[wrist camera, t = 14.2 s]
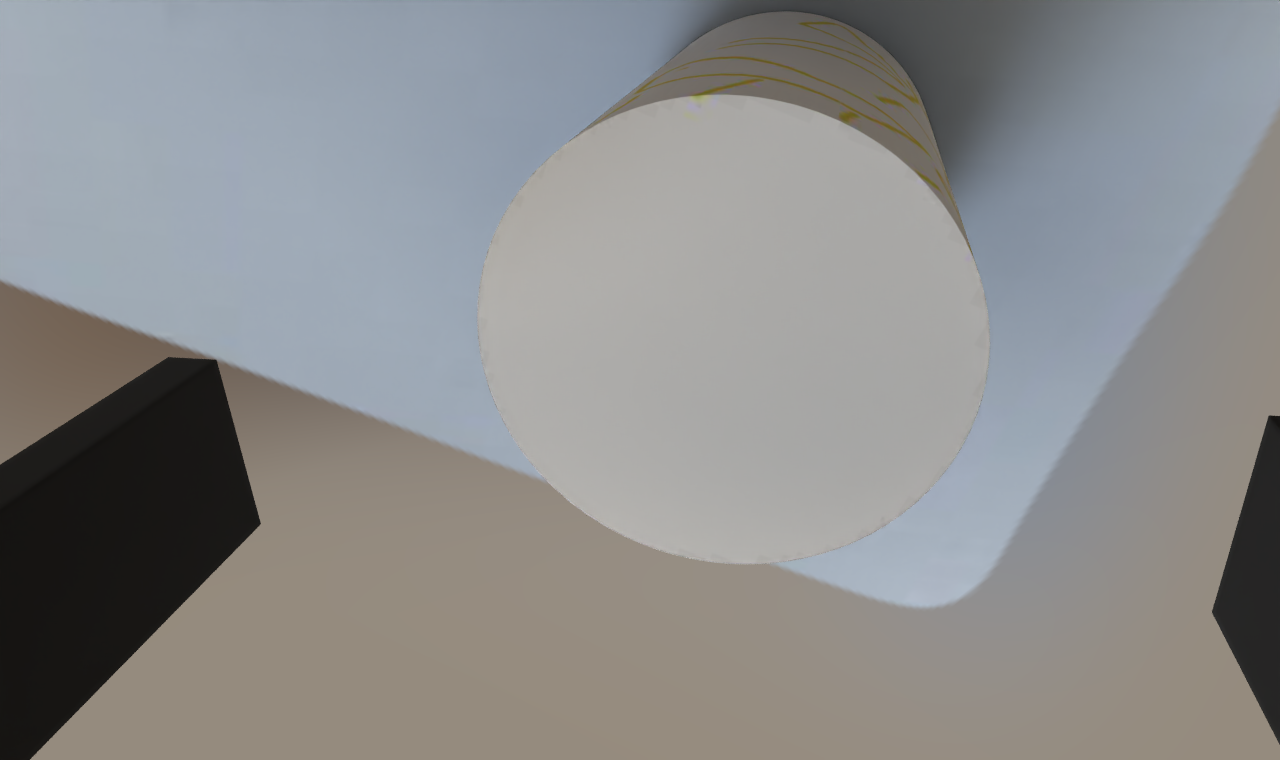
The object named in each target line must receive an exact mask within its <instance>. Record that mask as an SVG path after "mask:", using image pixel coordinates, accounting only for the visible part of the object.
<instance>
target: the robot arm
mask: <svg viewBox="0 0 1280 760" xmlns="http://www.w3.org/2000/svg"><path fill="white" fill-rule="evenodd" d="M260 524H261V523H260V519H259V516H258V512H257V508H256V505H255V501H254V497H253V494H252V490H251V486H250V482H249V479H248V475H247V471H246V468H245V464H244V460H243V456H242V453H241V450H240V445H239V442H238V438H237V435H236V431H235V427H234V423H233V419H232V416H231V412H230V408H229V405H228V401H227V397H226V393H225V390H224V386H223V382H222V379H221V375H220V371H219V368H218V364H217V360H210V359H191V358H172V357H168V358H166V359H165V360H163V361H162V362H160V363H159V364H157V365H155V366H154V367H152V368H151V369H149V370H148V371H146V372H144V373H143V374H141V375H140V376H138V377H137V378H135V379H134V380H132V381H130V382H129V383H127V384H126V385H124V386H123V387H121V388H119V389H118V390H116V391H115V392H113V393H112V394H110V395H109V396H107V397H105V398H104V399H102V400H101V401H99V402H98V403H96V404H95V405H93V406H91V407H90V408H88V409H87V410H85V411H84V412H82V413H80V414H79V415H77V416H76V417H74V418H73V419H71V420H69V421H68V422H66V423H65V424H64V425H62V426H60V427H59V428H57V429H55V430H54V431H52V432H51V433H49V434H48V435H46V436H44V437H43V438H41V439H40V440H38V441H37V442H35V443H34V444H32V445H30V446H29V447H27V448H26V449H24V450H23V451H21V452H19V453H18V454H17V455H15V456H13V457H12V458H10V459H9V460H7V461H5V462H4V463H2V464H1V465H0V760H30V759H31V758H32V757H33V756H34V755H35V754H36V753H37V751H39V750H40V749H41V748H42V746H43V745H45V744H46V742H47V741H48V740H49V739H50V738H51V737H52V736H53V735H54V734H55V733H56V732H57V731H58V730H59V729H60V728H61V727H62V726H63V725H64V724H65V723H66V722H67V721H68V720H69V719H70V718H71V717H72V716H73V715H74V714H75V713H76V712H77V711H78V710H79V709H80V708H81V707H82V706H83V705H84V704H85V703H86V702H87V701H88V700H89V699H90V698H91V696H93V695H94V693H95V692H96V691H98V689H99V688H100V687H101V686H102V685H103V684H104V683H105V682H106V681H107V680H108V679H109V678H110V677H111V676H112V675H113V674H114V673H115V672H116V671H117V670H118V669H119V668H120V667H121V666H122V665H123V664H124V663H125V662H126V661H127V660H128V659H129V658H130V657H131V656H132V655H133V654H134V653H135V652H136V651H137V650H138V649H139V648H140V647H141V646H142V645H143V644H144V643H145V642H146V641H147V639H149V637H150V636H151V635H152V634H153V633H154V632H155V631H156V630H157V629H158V628H159V627H160V626H161V625H162V624H163V623H164V622H165V621H166V620H167V619H168V618H169V617H170V616H171V615H172V614H173V613H174V612H175V611H176V610H177V609H178V608H179V607H180V606H181V605H182V604H183V603H184V602H185V601H186V600H187V599H188V598H189V597H190V596H191V595H192V594H193V593H194V592H195V591H196V590H197V589H198V588H199V587H200V585H201V584H202V583H203V582H204V581H205V580H206V579H207V578H208V577H209V576H210V575H211V574H212V573H213V572H214V571H215V570H216V569H217V568H218V567H219V566H220V565H221V564H222V563H223V562H224V561H225V560H226V559H227V558H228V557H229V556H230V555H231V554H232V553H233V552H234V551H235V550H236V549H237V548H238V547H239V546H240V545H241V544H242V543H243V542H244V541H245V540H246V539H247V538H248V537H249V536H250V535H251V534H252V533H253V531H254V530H255V529H256V528H257V527H258V526H259V525H260ZM1212 613H1213V615H1214V617H1215V619H1216V621H1217V623H1218V625H1219V627H1220V629H1221V631H1222V633H1223V635H1224V637H1225V639H1226V641H1227V643H1228V645H1229V646H1230V648H1231V650H1232V652H1233V654H1234V656H1235V658H1236V660H1237V662H1238V664H1239V666H1240V668H1241V670H1242V672H1243V674H1244V675H1245V678H1246V680H1247V682H1248V684H1249V686H1250V688H1251V689H1252V691H1253V693H1254V695H1255V697H1256V699H1257V701H1258V703H1259V705H1260V707H1261V709H1262V711H1263V713H1264V715H1265V717H1266V719H1267V721H1268V723H1269V725H1270V727H1271V729H1272V730H1273V732H1274V734H1275V736H1276V738H1277V740H1278V742H1279V744H1280V416H1269V417H1268V421H1267V424H1266V427H1265V431H1264V434H1263V437H1262V441H1261V444H1260V448H1259V451H1258V455H1257V458H1256V462H1255V465H1254V469H1253V472H1252V476H1251V479H1250V483H1249V486H1248V489H1247V493H1246V496H1245V500H1244V503H1243V507H1242V510H1241V514H1240V517H1239V521H1238V524H1237V528H1236V531H1235V535H1234V538H1233V541H1232V545H1231V548H1230V552H1229V555H1228V559H1227V562H1226V565H1225V569H1224V572H1223V576H1222V579H1221V583H1220V586H1219V590H1218V593H1217V597H1216V600H1215V603H1214V607H1213V610H1212Z"/></svg>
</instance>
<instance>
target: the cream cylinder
mask: <svg viewBox="0 0 1280 760" xmlns="http://www.w3.org/2000/svg"><path fill="white" fill-rule="evenodd" d="M477 324H478V339H479V347H480V354H481V359H482V363H483V368H484V372H485V376H486V379H487V382H488V386H489V389H490V392H491V394H492V397H493V399H494V402H495V405H496V407H497V409H498V411H499V413H500V415H501V417H502V420H503V422H504V423H505V425H506V427H507V429H508V430H509V432H510V434H511V436H512V437H513V439H514V440H515V442H516V443H517V445H518V446H519V448H520V449H521V451H522V452H523V453H524V455H525V456H526V457H527V459H528V460H529V461H530V463H531V464H532V465H533V466H534V467H535V468H536V470H537V471H538V472H539V473H540V474H541V475H542V476H543V478H545V479H546V480H547V481H548V482H549V483H550V484H551V485H552V486H553V487H554V488H555V489H556V490H557V491H558V492H559V493H560V494H561V495H562V496H564V497H565V498H566V499H567V500H568V501H569V502H571V503H572V504H574V505H575V506H576V507H577V508H579V509H580V510H581V511H583V512H584V513H585V514H587V515H589V516H590V517H592V518H593V519H595V520H596V521H597V522H599V523H601V524H603V525H604V526H606V527H608V528H610V529H611V530H613V531H615V532H617V533H619V534H621V535H623V536H625V537H627V538H629V539H632V540H634V541H636V542H639V543H641V544H644V545H646V546H649V547H652V548H655V549H658V550H660V551H663V552H667V553H671V554H674V555H678V556H682V557H687V558H691V559H696V560H703V561H709V562H718V563H728V564H767V563H777V562H786V561H791V560H797V559H803V558H807V557H811V556H815V555H819V554H823V553H826V552H829V551H832V550H835V549H838V548H841V547H843V546H846V545H848V544H851V543H853V542H855V541H858V540H860V539H862V538H864V537H866V536H868V535H870V534H872V533H874V532H875V531H877V530H879V529H880V528H882V527H884V526H886V525H887V524H889V523H890V522H892V521H893V520H895V519H896V518H897V517H899V516H900V515H902V514H903V513H904V512H905V511H907V510H908V509H909V508H910V507H912V506H913V505H914V504H915V503H916V502H917V501H919V500H920V499H921V498H922V497H923V496H924V495H925V494H926V493H927V492H928V491H929V490H930V489H931V488H932V487H933V486H934V484H935V483H936V482H937V481H938V480H939V479H940V478H941V476H942V475H943V474H944V473H945V471H946V470H947V469H948V467H949V466H950V465H951V463H952V462H953V460H954V459H955V457H956V456H957V454H958V453H959V451H960V449H961V448H962V446H963V444H964V442H965V440H966V438H967V436H968V434H969V433H970V430H971V428H972V425H973V423H974V421H975V418H976V416H977V413H978V410H979V407H980V404H981V401H982V397H983V393H984V389H985V384H986V380H987V373H988V365H989V352H990V331H989V317H988V311H987V304H986V298H985V294H984V290H983V286H982V282H981V278H980V275H979V272H978V269H977V266H976V263H975V260H974V257H973V254H972V251H971V248H970V245H969V242H968V239H967V235H966V232H965V229H964V226H963V223H962V220H961V217H960V214H959V211H958V208H957V205H956V202H955V199H954V196H953V193H952V190H951V187H950V184H949V180H948V177H947V174H946V171H945V168H944V165H943V162H942V159H941V156H940V153H939V150H938V147H937V144H936V141H935V138H934V135H933V132H932V128H931V125H930V122H929V119H928V116H927V113H926V110H925V107H924V105H923V102H922V100H921V98H920V95H919V93H918V91H917V90H916V88H915V86H914V84H913V82H912V81H911V79H910V78H909V76H908V75H907V73H906V72H905V71H904V69H903V68H902V67H901V66H900V64H899V63H898V62H897V61H896V60H895V59H894V58H893V57H892V56H891V54H890V53H888V52H887V51H886V50H885V49H884V48H883V47H882V46H881V45H879V44H878V43H877V42H875V41H874V40H873V39H871V38H870V37H869V36H867V35H865V34H864V33H862V32H860V31H859V30H857V29H855V28H853V27H851V26H849V25H847V24H844V23H842V22H839V21H837V20H834V19H831V18H828V17H824V16H820V15H815V14H810V13H803V12H789V11H783V12H768V13H760V14H755V15H750V16H746V17H743V18H739V19H736V20H733V21H731V22H728V23H726V24H723V25H721V26H719V27H717V28H715V29H713V30H711V31H709V32H708V33H706V34H704V35H703V36H701V37H700V38H698V39H697V40H695V41H694V42H693V43H691V44H690V45H689V46H687V47H686V48H685V49H684V50H683V51H681V52H680V53H679V54H678V55H676V56H675V57H674V58H673V59H671V60H670V61H669V62H668V63H666V64H665V65H664V66H663V67H661V68H660V69H659V70H658V71H656V72H655V73H654V74H653V75H651V76H650V77H649V78H648V79H646V80H645V81H644V82H643V83H641V84H640V85H639V86H638V87H636V88H635V89H634V90H633V91H631V92H630V93H629V94H628V95H626V96H625V97H624V98H623V99H621V100H620V101H619V102H618V103H616V104H615V105H614V106H613V107H611V108H610V109H609V110H608V111H606V112H605V113H604V114H603V115H601V116H600V117H599V118H598V119H596V120H595V121H594V122H593V123H591V124H590V125H589V126H588V127H586V128H585V129H584V130H583V131H581V132H580V133H579V134H578V135H576V136H575V137H574V138H573V139H571V140H570V141H569V142H568V143H566V144H565V145H564V146H563V147H562V148H560V149H559V150H558V151H557V152H555V153H554V154H553V155H552V156H551V157H549V158H548V159H547V160H546V161H545V162H544V163H543V164H542V165H541V166H540V167H539V168H538V169H537V170H536V171H535V172H534V173H533V175H532V176H531V177H530V178H529V179H528V180H527V182H526V183H525V184H524V185H523V186H522V188H521V189H520V190H519V192H518V193H517V195H516V196H515V197H514V199H513V200H512V202H511V203H510V205H509V207H508V208H507V210H506V212H505V214H504V215H503V217H502V219H501V221H500V223H499V225H498V227H497V229H496V231H495V234H494V236H493V239H492V241H491V244H490V247H489V249H488V252H487V256H486V259H485V263H484V266H483V271H482V276H481V281H480V287H479V296H478V314H477Z"/></svg>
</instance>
